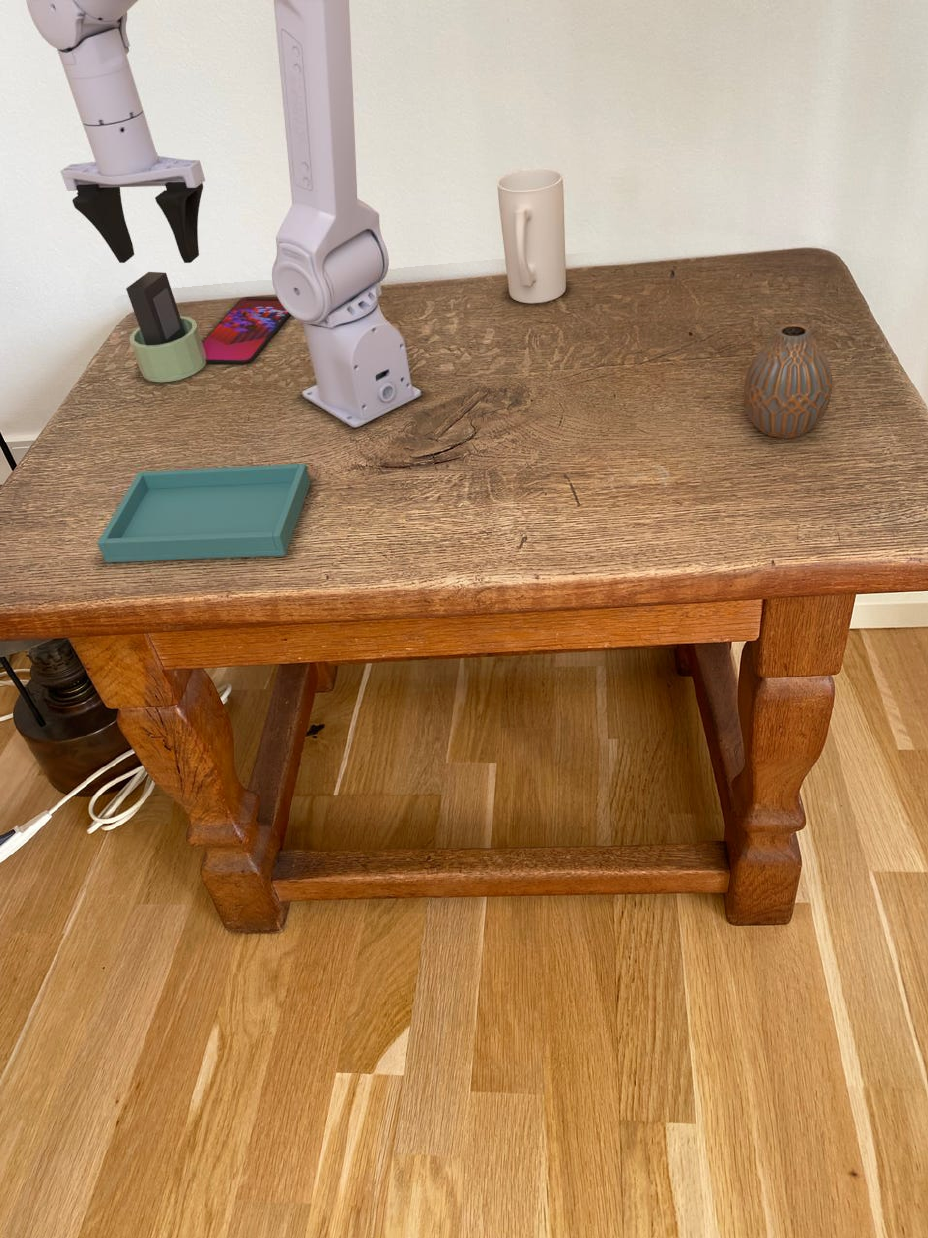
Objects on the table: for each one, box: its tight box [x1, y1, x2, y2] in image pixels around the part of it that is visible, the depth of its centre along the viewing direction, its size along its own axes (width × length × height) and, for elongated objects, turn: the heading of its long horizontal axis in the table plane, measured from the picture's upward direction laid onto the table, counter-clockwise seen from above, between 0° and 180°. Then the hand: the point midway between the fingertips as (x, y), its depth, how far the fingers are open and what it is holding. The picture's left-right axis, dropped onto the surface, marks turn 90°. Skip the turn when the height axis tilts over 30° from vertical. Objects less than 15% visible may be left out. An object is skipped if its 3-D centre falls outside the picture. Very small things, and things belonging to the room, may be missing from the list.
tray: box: [96, 462, 312, 563], centre depth 84 cm, size 15×10×2 cm
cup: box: [129, 315, 207, 383], centre depth 106 cm, size 7×7×4 cm
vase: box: [743, 323, 833, 439], centre depth 83 cm, size 7×7×9 cm
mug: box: [496, 167, 567, 304], centre depth 106 cm, size 10×7×12 cm, turn 165°
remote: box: [125, 271, 186, 345], centre depth 104 cm, size 2×4×9 cm, turn 159°
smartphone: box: [202, 296, 292, 366], centre depth 112 cm, size 8×1×15 cm
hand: (159, 258), depth 103 cm, fingers open, 7 cm apart
